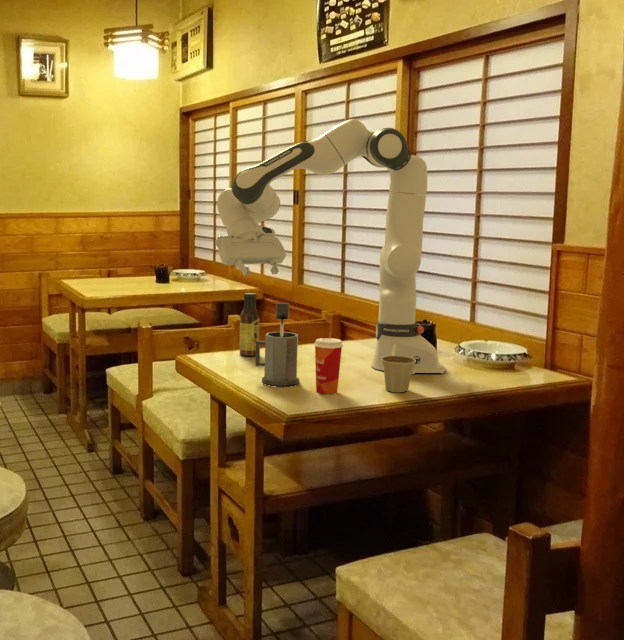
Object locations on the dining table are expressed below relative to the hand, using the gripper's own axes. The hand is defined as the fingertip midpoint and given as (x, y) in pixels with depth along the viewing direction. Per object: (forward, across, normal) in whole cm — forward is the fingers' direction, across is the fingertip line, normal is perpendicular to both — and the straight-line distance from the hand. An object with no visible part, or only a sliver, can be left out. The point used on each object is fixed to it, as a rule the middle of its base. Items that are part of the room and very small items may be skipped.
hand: (261, 273), depth 223 cm
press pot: (+29, 0, +13) cm, 31 cm away
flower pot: (+44, +24, -3) cm, 50 cm away
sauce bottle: (+4, +11, +38) cm, 40 cm away
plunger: (+25, 0, +9) cm, 27 cm away
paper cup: (+39, +6, +3) cm, 39 cm away
